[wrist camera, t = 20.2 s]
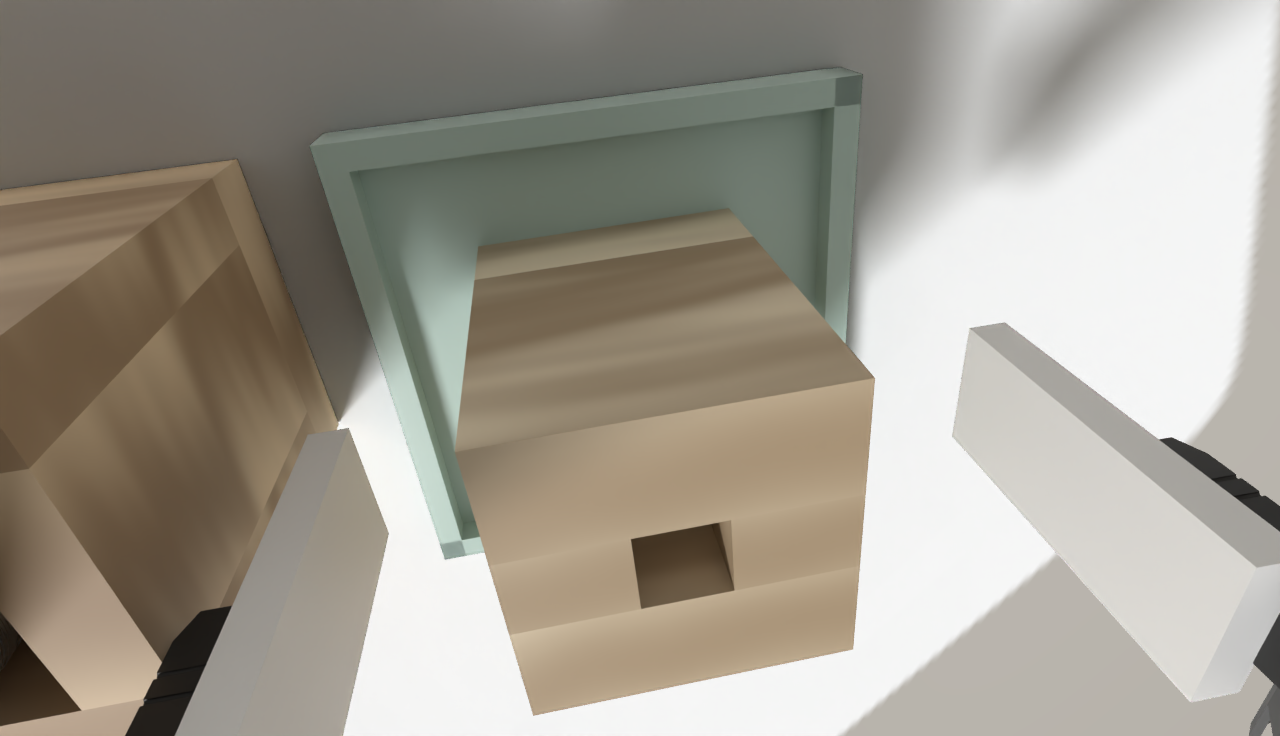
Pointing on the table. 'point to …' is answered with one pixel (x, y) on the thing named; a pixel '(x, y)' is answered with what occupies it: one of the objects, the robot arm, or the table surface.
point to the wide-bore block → (135, 428)
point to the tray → (575, 216)
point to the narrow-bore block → (660, 458)
